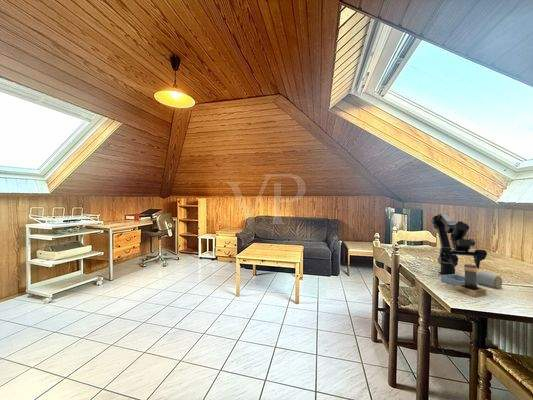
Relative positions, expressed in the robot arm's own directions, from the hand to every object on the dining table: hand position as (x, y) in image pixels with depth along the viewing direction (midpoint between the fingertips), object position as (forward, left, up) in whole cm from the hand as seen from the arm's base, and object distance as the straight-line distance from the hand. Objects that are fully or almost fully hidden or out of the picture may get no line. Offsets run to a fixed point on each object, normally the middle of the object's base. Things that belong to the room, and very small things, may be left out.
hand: (466, 267), depth 115 cm
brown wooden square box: (+4, -3, -12) cm, 13 cm away
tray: (-7, +4, -12) cm, 14 cm away
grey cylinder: (-1, +18, -12) cm, 22 cm away
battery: (+4, -3, -11) cm, 12 cm away
